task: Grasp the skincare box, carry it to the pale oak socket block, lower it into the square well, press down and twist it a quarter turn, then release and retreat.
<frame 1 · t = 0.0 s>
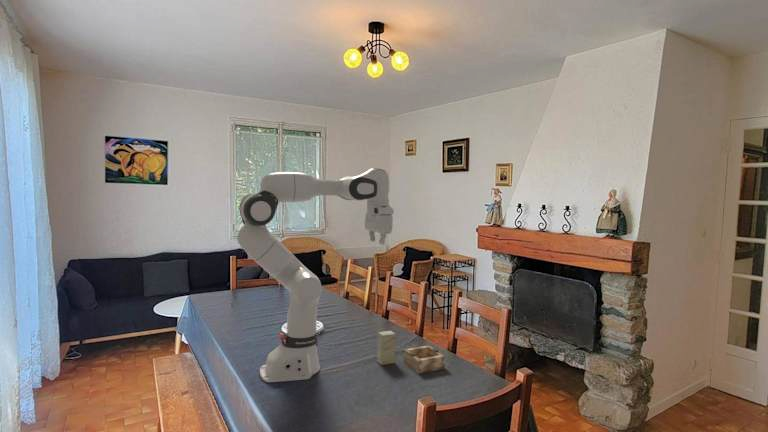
hand: (377, 242, 168), 48 cm above the table, fingers open, 8 cm apart
socket block: (423, 364, 164), on the table
skincare box: (385, 362, 166), on the table
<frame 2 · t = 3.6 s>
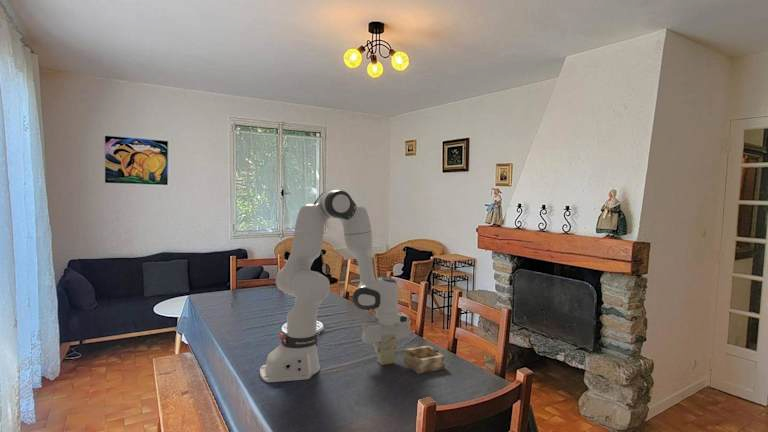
hand: (386, 350, 166), 5 cm above the table, fingers closed on skincare box, 6 cm apart
skincare box: (385, 362, 166), on the table, touching gripper
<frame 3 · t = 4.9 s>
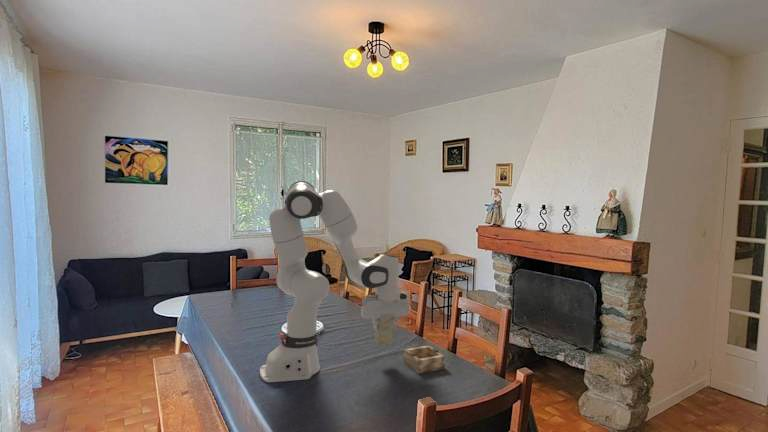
hand: (384, 328, 165), 14 cm above the table, fingers closed on skincare box, 6 cm apart
skincare box: (383, 342, 166), point 8 cm above the table, touching gripper
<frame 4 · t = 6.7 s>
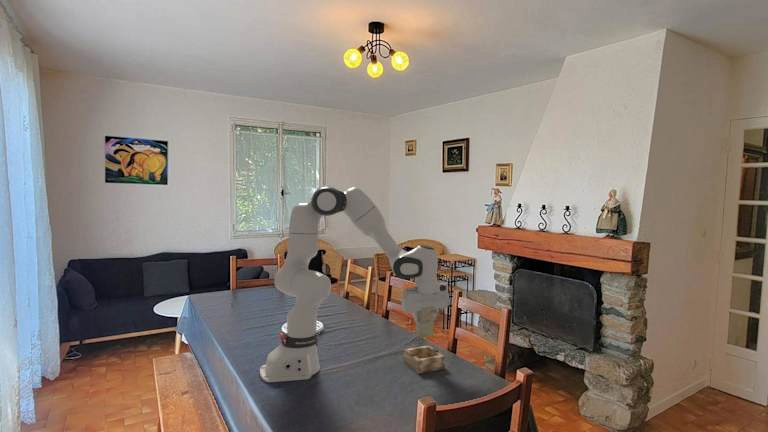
hand: (425, 320, 163), 18 cm above the table, fingers closed on skincare box, 6 cm apart
skincare box: (424, 335, 164), point 12 cm above the table, touching gripper
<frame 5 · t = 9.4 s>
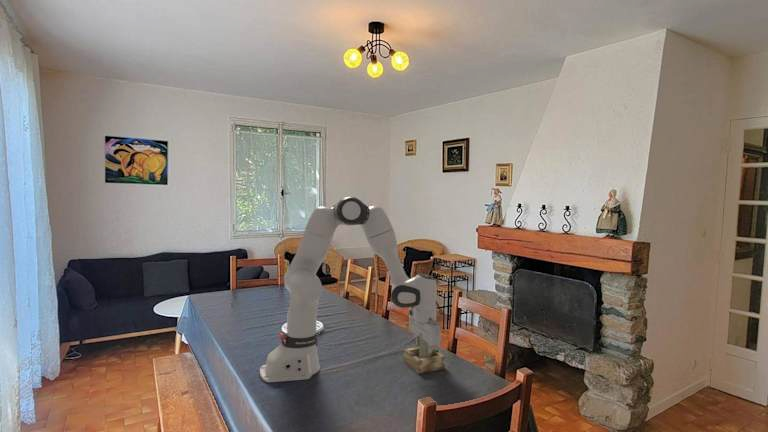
hand: (423, 349, 164), 7 cm above the table, fingers closed on skincare box, 7 cm apart
skincare box: (425, 361, 165), point 1 cm above the table, touching gripper
when the fingers open (6 cm above the table, at t = 10.1 s): skincare box stays where it is, resting on socket block.
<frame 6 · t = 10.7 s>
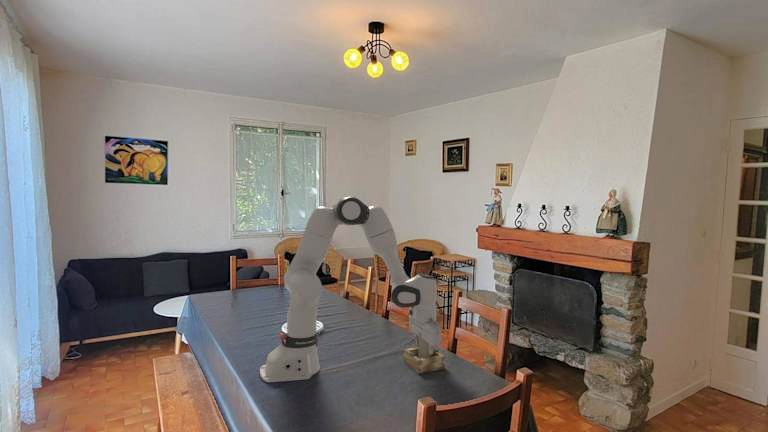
hand: (424, 348, 164), 7 cm above the table, fingers open, 8 cm apart
skincare box: (425, 362, 165), point 1 cm above the table, touching socket block
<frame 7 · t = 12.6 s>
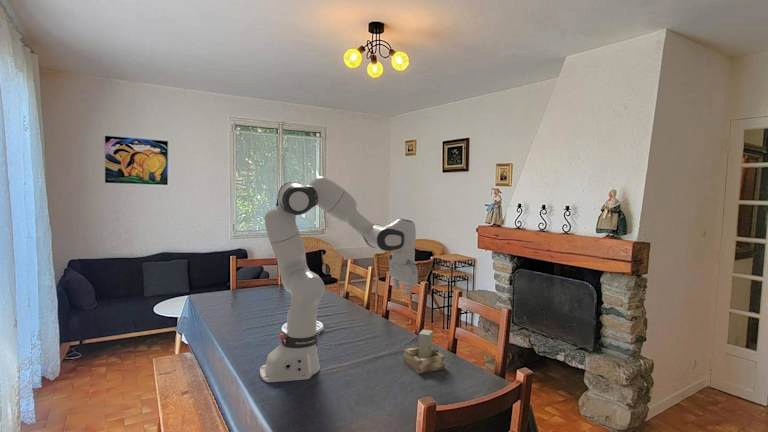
hand: (402, 291, 169), 28 cm above the table, fingers open, 8 cm apart
nothing on the table moved.
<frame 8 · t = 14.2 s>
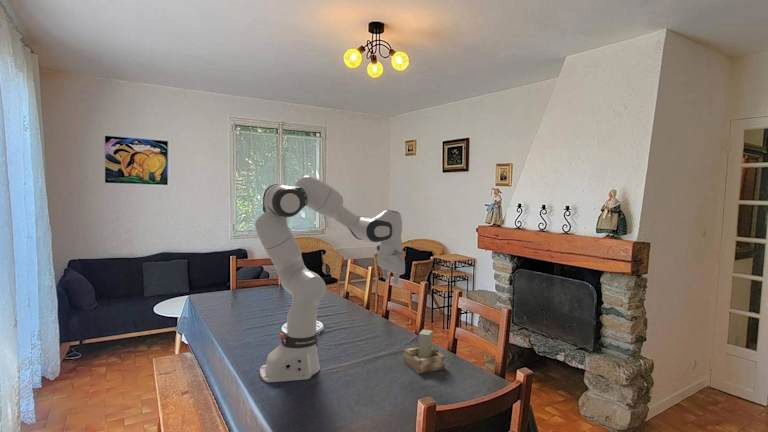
hand: (390, 281, 174), 31 cm above the table, fingers open, 8 cm apart
nothing on the table moved.
at the end: skincare box 1.0 cm off-centre on the socket block, point 0.8 cm above the socket block's base; skincare box tilted 0°; the gripper is holding nothing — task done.
